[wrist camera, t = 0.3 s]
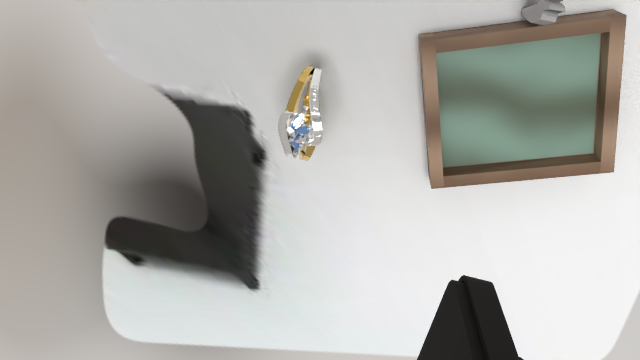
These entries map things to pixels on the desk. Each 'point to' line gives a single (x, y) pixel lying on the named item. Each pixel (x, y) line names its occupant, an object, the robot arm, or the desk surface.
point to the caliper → (543, 12)
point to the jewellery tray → (522, 99)
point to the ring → (302, 118)
